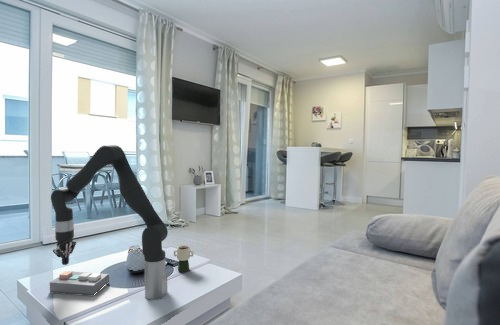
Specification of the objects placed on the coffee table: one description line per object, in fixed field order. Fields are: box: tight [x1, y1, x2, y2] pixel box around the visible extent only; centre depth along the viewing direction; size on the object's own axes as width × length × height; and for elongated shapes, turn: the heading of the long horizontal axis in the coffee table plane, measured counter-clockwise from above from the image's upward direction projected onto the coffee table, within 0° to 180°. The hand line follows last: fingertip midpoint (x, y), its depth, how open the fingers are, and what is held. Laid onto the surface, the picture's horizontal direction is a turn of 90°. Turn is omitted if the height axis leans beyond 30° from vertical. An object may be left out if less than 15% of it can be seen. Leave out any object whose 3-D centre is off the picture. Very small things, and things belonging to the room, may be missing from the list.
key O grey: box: [79, 272, 92, 281], centre depth 141 cm, size 4×4×4 cm
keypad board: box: [49, 271, 110, 296], centre depth 141 cm, size 22×12×5 cm, turn 83°
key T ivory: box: [88, 272, 101, 282], centre depth 140 cm, size 4×4×4 cm
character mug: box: [173, 245, 194, 273], centre depth 162 cm, size 11×7×13 cm, turn 90°
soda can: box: [127, 245, 142, 254], centre depth 164 cm, size 7×7×12 cm
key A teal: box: [69, 275, 80, 280], centre depth 141 cm, size 4×4×4 cm
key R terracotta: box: [58, 271, 73, 280], centre depth 142 cm, size 4×4×4 cm
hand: (65, 264), depth 141 cm, fingers closed
